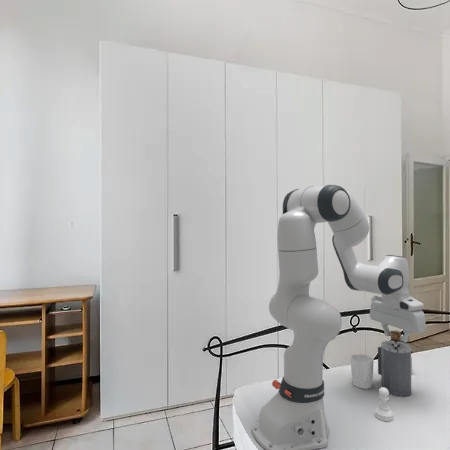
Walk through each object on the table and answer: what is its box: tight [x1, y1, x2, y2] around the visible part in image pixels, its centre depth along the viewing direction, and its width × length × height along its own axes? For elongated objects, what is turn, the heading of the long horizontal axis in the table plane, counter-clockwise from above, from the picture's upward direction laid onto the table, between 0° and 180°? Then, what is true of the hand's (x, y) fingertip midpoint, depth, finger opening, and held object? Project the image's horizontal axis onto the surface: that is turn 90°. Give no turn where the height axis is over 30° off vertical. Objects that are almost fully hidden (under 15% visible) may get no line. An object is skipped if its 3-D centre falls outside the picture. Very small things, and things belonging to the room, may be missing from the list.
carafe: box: [377, 340, 412, 398], centre depth 120 cm, size 10×12×16 cm
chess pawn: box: [374, 387, 394, 422], centre depth 102 cm, size 5×5×9 cm
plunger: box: [390, 330, 402, 347], centre depth 118 cm, size 7×7×18 cm
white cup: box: [350, 353, 375, 390], centre depth 122 cm, size 8×8×10 cm
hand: (395, 338), depth 118 cm, fingers open, 5 cm apart
